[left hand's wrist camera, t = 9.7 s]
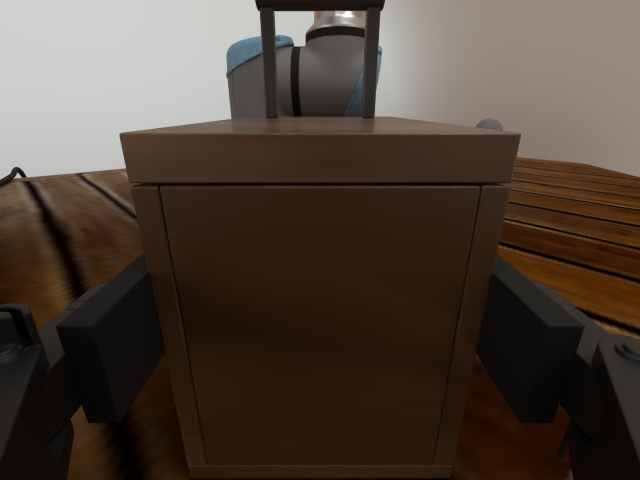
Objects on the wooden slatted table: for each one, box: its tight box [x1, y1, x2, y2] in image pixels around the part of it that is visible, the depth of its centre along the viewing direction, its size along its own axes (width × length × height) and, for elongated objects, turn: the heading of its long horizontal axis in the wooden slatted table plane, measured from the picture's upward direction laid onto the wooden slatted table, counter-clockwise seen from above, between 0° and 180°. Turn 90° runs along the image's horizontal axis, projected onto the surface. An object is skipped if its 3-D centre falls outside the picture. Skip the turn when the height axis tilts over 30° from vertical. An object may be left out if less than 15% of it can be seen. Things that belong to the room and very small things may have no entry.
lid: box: [120, 0, 521, 183], centre depth 14 cm, size 16×9×9 cm, turn 0°
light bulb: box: [476, 119, 503, 131], centre depth 77 cm, size 6×6×10 cm
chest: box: [131, 183, 510, 478], centre depth 17 cm, size 15×9×11 cm, turn 0°
